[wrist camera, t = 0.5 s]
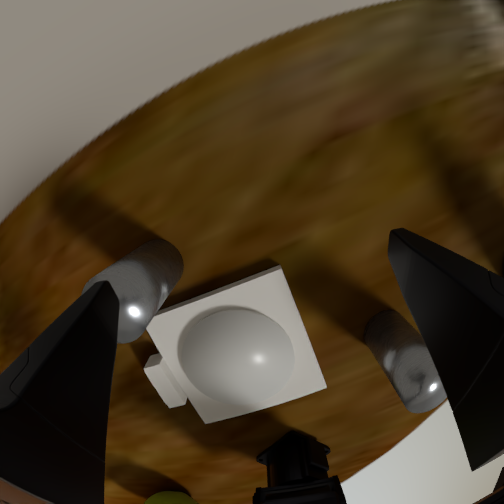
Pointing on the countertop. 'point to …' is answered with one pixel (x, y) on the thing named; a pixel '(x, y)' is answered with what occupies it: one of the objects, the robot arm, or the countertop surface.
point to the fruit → (170, 498)
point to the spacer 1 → (142, 284)
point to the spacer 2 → (405, 361)
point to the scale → (234, 349)
